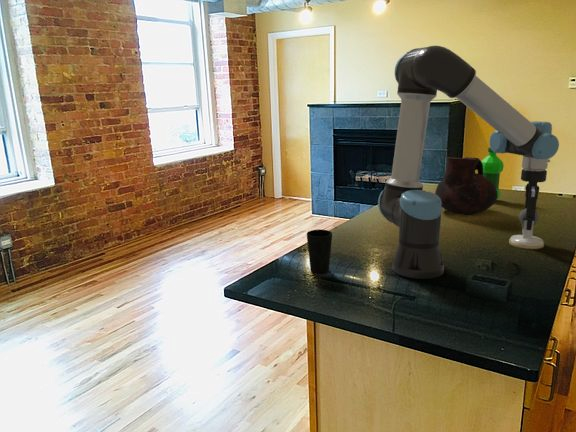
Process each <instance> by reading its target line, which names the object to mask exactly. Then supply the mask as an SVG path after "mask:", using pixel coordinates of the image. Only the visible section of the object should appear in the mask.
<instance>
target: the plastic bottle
mask: <svg viewBox="0 0 576 432" xmlns="http://www.w3.org/2000/svg"><path fill="white" fill-rule="evenodd" d="M487 153H488V155H486V156H485V157H484V158H483V159H482V160H480V161H481V162H482V164H483V176H484V177H486V178H487V179H489V180H490V181H492V182H493V184H494V185H495V187H496V189H497V193H498V196H497V199H499V198H500V196H501V190H500V188H499V187H500V176H501V173H502V172H503V171H504V167H505V166H504V162H503V161H502V160H501V158H499V157H498V156H497V153H494V152H493V151H492V150H491V148H490V147H488V148H487Z"/></svg>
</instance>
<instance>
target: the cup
mask: <svg viewBox="0 0 576 432" xmlns="http://www.w3.org/2000/svg"><path fill="white" fill-rule="evenodd" d="M306 240H307V250H308V259H309V267H310V268H309V269H310V273H313V274H316V275H325V274H327V273H329V271H330V262H331V251H332V243H333V242H332V240H333V232H332V231H331V230H327V229H311V230H308V231H307V232H306Z"/></svg>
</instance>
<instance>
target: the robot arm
mask: <svg viewBox="0 0 576 432" xmlns="http://www.w3.org/2000/svg"><path fill="white" fill-rule="evenodd" d="M394 78H395V82H396V83H397V84H398V85H397V95H398V97H399V98H400V101H401V102H400V108H399V117H398V125H397V129H396V130H397V131H396V138H395V139H396V140H395V145H394V156H393V161H392V168H391V176H390V177H389V178H388V179H386V181H385V185H384V189H383V190H382V191H381V192H380V193H379V196H378V200H377V204H378V205H377V206H378V209H379V212H380V214H381V215H382V216H383V217H384V218H385V220H386V221H388V222H389V223H392V224H393V225H395V226H396V227H398V228H399V229H398V230H399V231H398V234H399V235H398V244H397V245H398V246H397V248H396V251H395V252H394V253H395V254H394V256H393V258H392V261H391V270H392V271H393V272H394V273H396V274H397V275H399V276H401V277H405V278H408V279H409V278H410V279H418V280H419V279H420V280H429V279H435V278H436V279H437V277H441V276H442V275H444V272H445V263H444V260H443V256H442V253H441V249H440V248H441V247H440V237H441V235H440V234H441V225H442V224H441V221H442V220H441V219H442V212H443V208H442V207H441V199H440V197H439V196H438V195H436V194H435V192H432V191H426V190H423V187H424V185H423V183H422V182H421V181H420V175H421V174H420V173H421V167H422V161H423V154H424V146H425V140H426V135H427V134H426V132H427V125H428V122H429V121H428V120H429V113H430V106H431V102H432V101H433V100H434V99H435V98H437V93H438V91H439V92H440V93H443V94H444V95H446V96H447V97H448V98H450V99H457V100H458V101H459V102H461V103H462V104H464V105H465V106H466V107H467V108H468V109H470V110H471V111H472V112H473V113H474V114H476V115H477V116H478V117H479V118H481V119H482V120H483V121H484V122H485V123H487V124H488V125H490V127H492V128H493V129H494V131H493V132H492V133H491V135H490V137H489V148H491V150H492V151H493V152H494V153H496V154H501V155H502V154H512V155H518V156H522V163H521V168H523V169H521V172H520V173H521V174H520V180H521V181H523V182H528V183H526V184H525V192H524V193H525V194H524V197H525V201H524V202H525V203H524V209H526V208H527V210H526V218H523V220H525V224H524V233H523V228H522V230H521V231H522V235H523V239H532V236H533V233H534V227H533V226H535V225H534V220H535V211H537V210H536V209H537V201H538V198H539V193H540V187H539V185H538V183H545V182H546V181H547V174H548V171H547V170H546V169H548V163H550V162H551V159H552V158H553V157H554V156H555V155H556V154H557V152H558V150H559V147H560V142H559V139H558V137H557V136H556V135H555V134H553V126H552V125H553V124H552V123H551V122H549V121H537V120H536V121H530V120H529V119H528V118H526V117H525V116H524V115H523V114H521V113H520V112H519V111H518V110H517V109H516V108H514V106H512V105H511V104H510V103H509V102H507V100H505V99H504V98H503V97H502V96H500V94H498V93H497V92H495V90H493V89H492V88H491V87H490V86H489V85H488V84H486V83H485V82H484V81H483V80H481V79H480V78H479V76H477V71H476V69H475V68H474V67H472V66H471V64H470V63H468V62H466V60H464V59H463V58H462V57H461V56H459V54H456V53H455V52H454V51H452V50H450V49H449V48H448V47H445V46H441V45H429V46H425V47H417V48H413V49H411V50H408V51H406V52H405V53H404V54H402V55H401V56H400V57H399V59H398V61H396V63H395V67H394ZM524 209H523V210H524Z"/></svg>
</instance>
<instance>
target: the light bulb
mask: <svg viewBox="0 0 576 432" xmlns="http://www.w3.org/2000/svg"><path fill="white" fill-rule="evenodd" d="M526 210H527V208H526V209H522V210H521V211H520V213H519V215H518V219H519V221H520V224H521V225H522V229H523V233H524V224H525V220H523V218H526ZM539 218H540V215H539V213H538V211H537V210H536V211H535V220H534V226H535V225H536V224H537V223H538V221H539ZM534 226H533V228H534ZM523 233H522V234H523Z"/></svg>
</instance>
